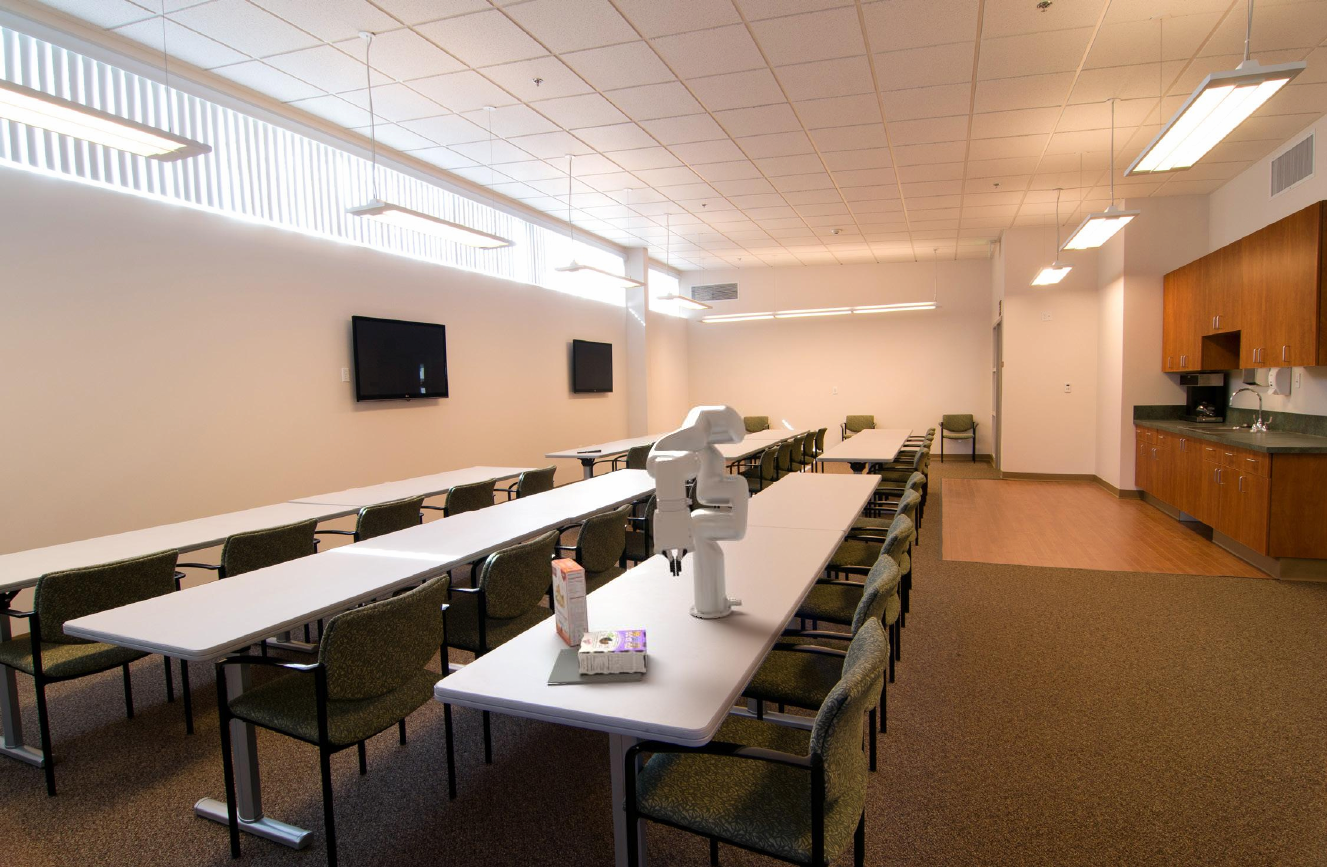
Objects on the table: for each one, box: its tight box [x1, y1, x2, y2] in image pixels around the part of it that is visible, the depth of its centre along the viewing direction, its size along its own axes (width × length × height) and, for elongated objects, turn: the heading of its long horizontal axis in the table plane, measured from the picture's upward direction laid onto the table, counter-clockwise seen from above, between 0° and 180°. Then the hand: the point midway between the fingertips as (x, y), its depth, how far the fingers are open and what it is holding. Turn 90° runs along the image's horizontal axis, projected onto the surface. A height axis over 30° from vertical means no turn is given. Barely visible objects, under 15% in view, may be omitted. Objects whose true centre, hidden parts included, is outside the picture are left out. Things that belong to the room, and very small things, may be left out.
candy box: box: [578, 629, 648, 675], centre depth 167 cm, size 14×6×16 cm
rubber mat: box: [546, 648, 642, 684], centre depth 168 cm, size 22×20×1 cm
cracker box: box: [551, 557, 589, 647], centre depth 187 cm, size 14×6×21 cm, turn 24°
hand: (676, 574), depth 172 cm, fingers closed
